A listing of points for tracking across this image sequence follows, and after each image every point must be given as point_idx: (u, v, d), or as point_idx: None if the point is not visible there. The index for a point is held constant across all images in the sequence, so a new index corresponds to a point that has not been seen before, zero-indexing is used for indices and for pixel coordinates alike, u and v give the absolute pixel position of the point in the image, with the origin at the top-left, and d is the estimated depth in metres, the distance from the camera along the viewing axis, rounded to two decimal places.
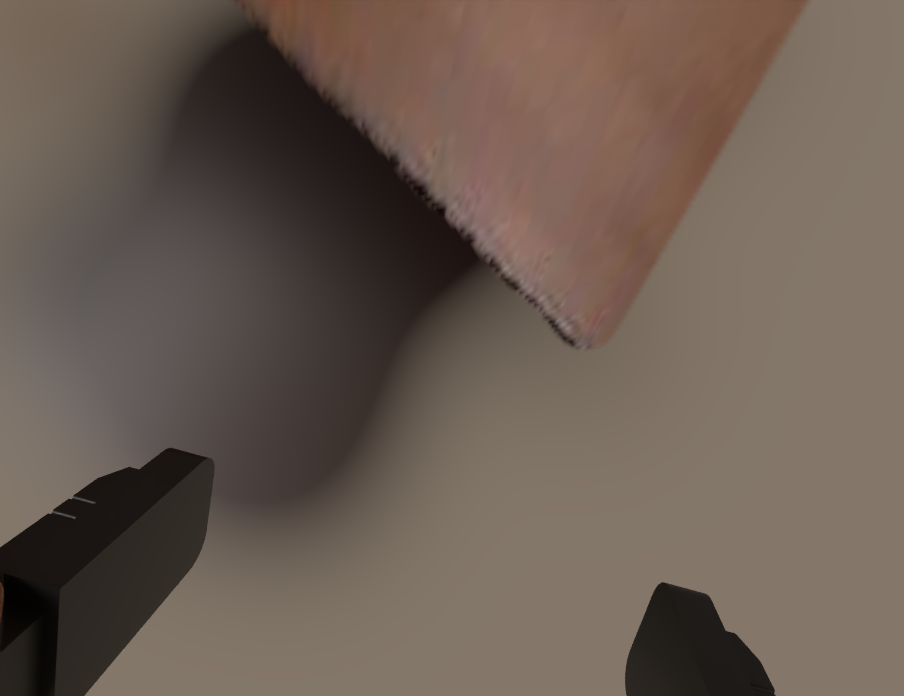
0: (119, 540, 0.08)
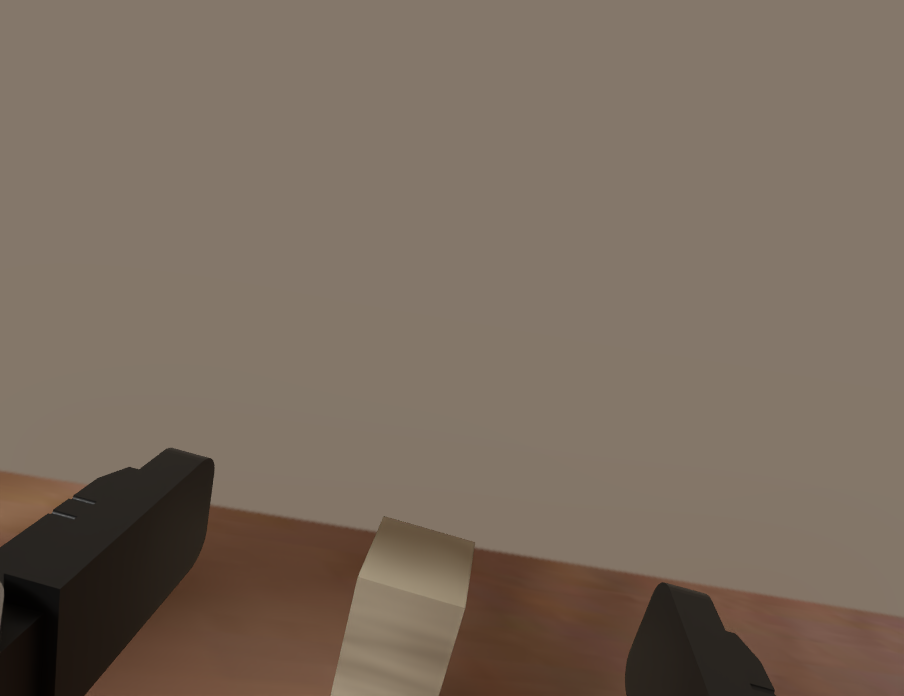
0: (119, 540, 0.08)
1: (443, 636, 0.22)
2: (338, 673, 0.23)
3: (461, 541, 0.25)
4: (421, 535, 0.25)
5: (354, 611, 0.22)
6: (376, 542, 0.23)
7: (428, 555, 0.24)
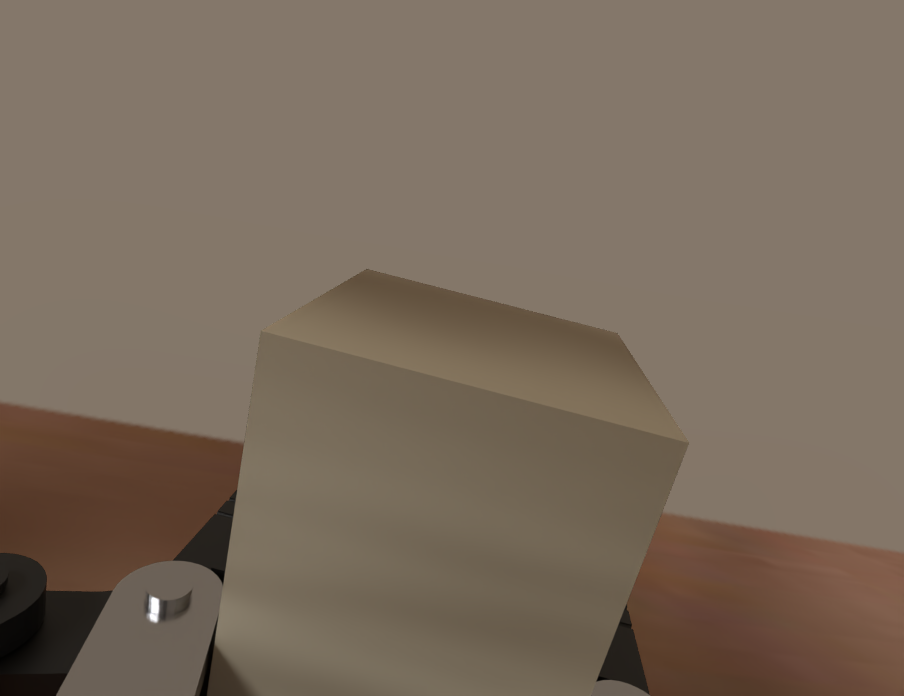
0: None
1: (590, 564, 0.06)
2: None
3: (582, 328, 0.09)
4: (474, 304, 0.09)
5: (255, 478, 0.06)
6: (342, 292, 0.08)
7: (505, 330, 0.08)
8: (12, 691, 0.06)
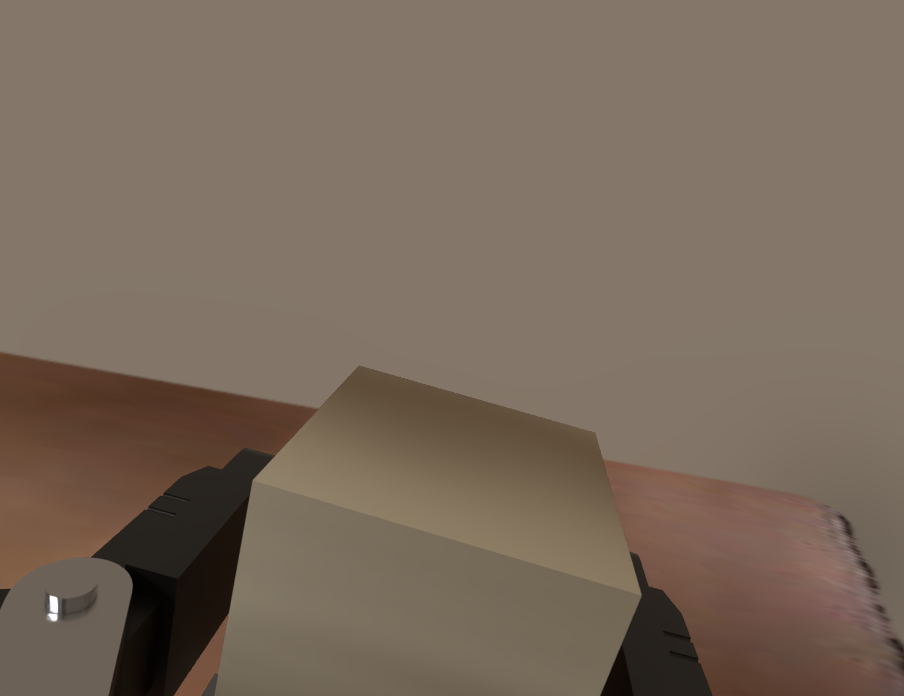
0: (217, 534, 0.08)
1: (552, 695, 0.06)
2: None
3: (561, 428, 0.09)
4: (459, 408, 0.09)
5: (246, 606, 0.06)
6: (333, 407, 0.08)
7: (485, 446, 0.08)
8: None
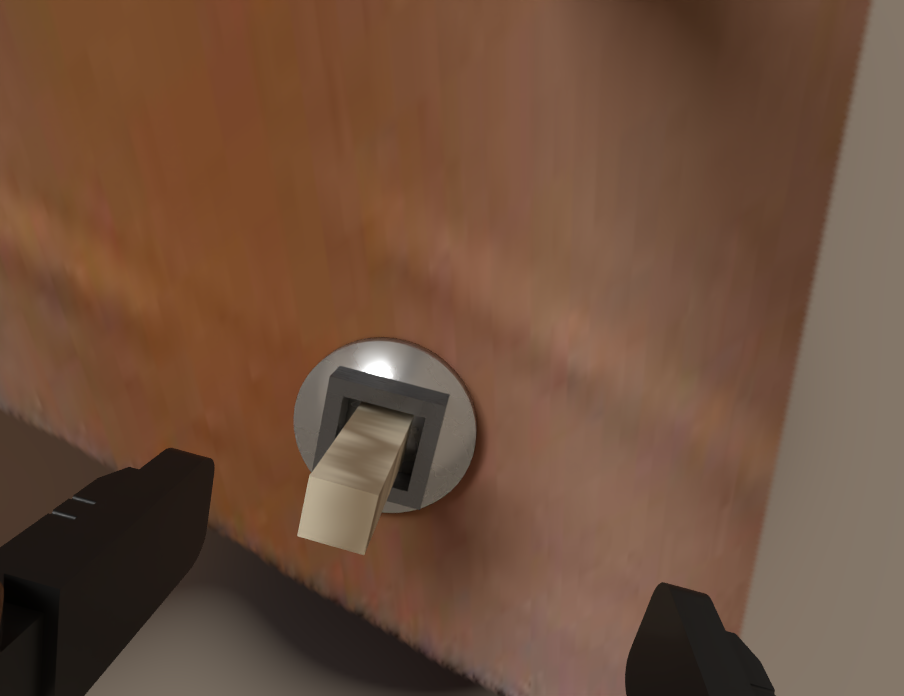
0: (119, 540, 0.08)
1: None
2: (333, 442, 0.37)
3: (362, 545, 0.34)
4: (361, 519, 0.33)
5: (317, 465, 0.35)
6: (346, 488, 0.33)
7: (342, 521, 0.34)
8: None
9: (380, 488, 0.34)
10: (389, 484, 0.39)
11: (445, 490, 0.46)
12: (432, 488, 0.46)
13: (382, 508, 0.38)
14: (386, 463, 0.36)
